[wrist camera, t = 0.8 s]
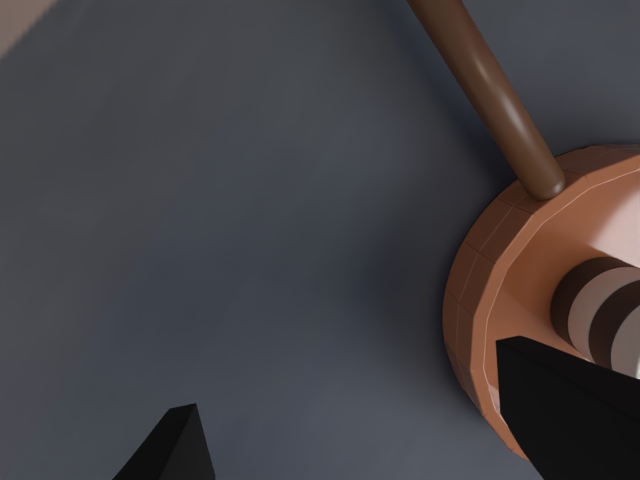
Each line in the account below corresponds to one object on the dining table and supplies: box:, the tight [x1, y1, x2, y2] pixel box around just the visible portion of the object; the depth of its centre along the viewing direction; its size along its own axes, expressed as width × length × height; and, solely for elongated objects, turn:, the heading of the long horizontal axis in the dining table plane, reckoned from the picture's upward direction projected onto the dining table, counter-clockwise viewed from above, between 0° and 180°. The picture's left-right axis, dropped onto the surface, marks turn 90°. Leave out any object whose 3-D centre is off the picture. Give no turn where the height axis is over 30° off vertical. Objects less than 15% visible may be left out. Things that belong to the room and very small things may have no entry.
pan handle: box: [406, 0, 566, 201], centre depth 18 cm, size 10×1×1 cm, turn 37°
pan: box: [443, 144, 640, 461], centre depth 22 cm, size 14×14×3 cm
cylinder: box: [550, 257, 640, 379], centre depth 21 cm, size 4×4×6 cm
